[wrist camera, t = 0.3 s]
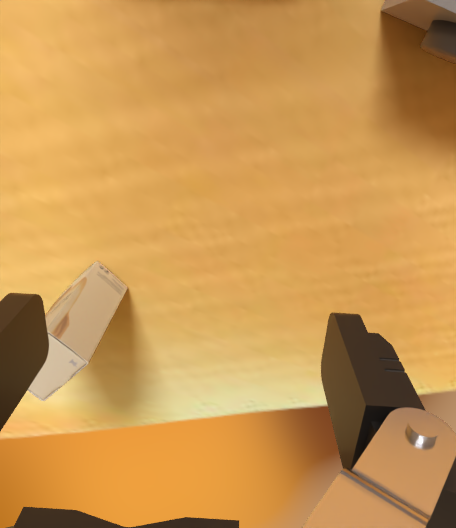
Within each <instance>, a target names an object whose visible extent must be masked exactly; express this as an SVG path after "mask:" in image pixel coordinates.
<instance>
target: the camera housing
mask: <svg viewBox="0 0 456 528" xmlns="http://www.w3.org/2000/svg"><path fill="white" fill-rule="evenodd" d="M381 11H383V12H385V13H387V14H390V15H392V16H394V17H396V18H399V19H401V20H403V21H406V22H408V23H410V24H412V25H415V26H417V27H419V28H422V29H424V30H426V31H427V33H426V35H425V37H424V39H423V41H422V43H421V45H420V47H421V48H422V49H423V50H425V51H426V52H428V53H430V54H432V55H434V56H437V57H439V58H441V59H444V60H447V61H449V62H452V63H455V64H456V0H385V2H384V4H383V7H382V9H381Z"/></svg>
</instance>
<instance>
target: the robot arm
mask: <svg viewBox="0 0 456 528" xmlns="http://www.w3.org/2000/svg"><path fill="white" fill-rule="evenodd" d="M48 351H49V338H48V332H47V325H46V319H45V312H44V306H43V301H42V298H41V297H40V295H37V294H21V293H9V294H8V295H6V296H5V297H4V298H3V299H2V300H1V301H0V431H1V429H2V428H3V426H4V425H5V423H6V422H7V420H8V419H9V417H10V416H11V414H12V413H13V411H14V410H15V408H16V406H17V405H18V403H19V402H20V400H21V399H22V397H23V396H24V394H25V393H26V391H27V390H28V388H29V387H30V385H31V384H32V382H33V380H34V379H35V377H36V376H37V374H38V373H39V371H40V370H41V368H42V367H43V365H44V364H45V362H46V359H47V356H48ZM404 371H405V370H404V368H403V366H402V364H401V362H400V361H399V358H398V356H397V354H396V352H395V350H394V348H393V346H392V345H391V344H390V343H389V342H388V341H386V340H385V339H384V338H383V337H382V336H381V335H380V334H378V333H368V332H367V330H366V327H365V325H364V323H363V321H362V318H361V316H360V315H359V314H346V313H331V314H330V316H329V320H328V326H327V332H326V337H325V343H324V349H323V354H322V361H321V377H322V383H323V387H324V391H325V395H326V400H327V404H328V408H329V412H330V416H331V420H332V424H333V428H334V432H335V437H336V441H337V445H338V449H339V454H340V458H341V462H342V466H343V470H342V471H341V472H340V473H339V474H338V476H337V477H336V479H335V480H334V482H333V483H332V484H331V486H330V487H329V489H328V490H327V492H326V493H325V494H324V496H323V497H322V499H321V500H320V502H319V503H318V505H317V506H316V507H315V509H314V510H313V512H312V513H311V515H310V516H309V518H308V519H307V520H306V522H305V523H304V525H303V526H302V528H456V434H455V432H454V431H453V430H452V428H451V427H450V426H449V425H448V424H447V423H446V422H444V421H443V420H442V419H440V418H439V417H437V416H435V415H433V414H432V413H429V412H427V411H425V409H424V407H423V405H422V403H421V401H420V399H419V397H418V395H417V393H416V391H415V389H414V387H413V385H412V383H411V381H410V379H409V377H408V376H407V374H406V373H405V372H404ZM7 528H239V521H236V520H219V519H204V518H188V517H185V518H180V519H175V520H169V521H164V522H158V523H153V524H147V525H142V526H136V527H123V526H120V525H117V524H114V523H111V522H108V521H105V520H103V519H100V518H97V517H94V516H91V515H88V514H86V513H83V512H80V511H77V510H65V509H49V508H33V507H23V509H22V511H21V513H20V515H19V517H18V519H17V521H16V523H15V525H14V526H12V527H7Z"/></svg>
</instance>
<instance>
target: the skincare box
mask: <svg viewBox="0 0 456 528" xmlns="http://www.w3.org/2000/svg"><path fill="white" fill-rule="evenodd" d="M127 289H128V287H127V286H126V285H125V284H124V283H122V282H121V281H120V280H119V279H118V278H117V277H116V276H115V275H114V274H113V273H111V272H110V271H109V270H108V269H107V268H106V267H104V266H103V265H102V264H101V263H99V262H98V261H96V262H95V263H94V264H92V265H91V266H90V267H89V268H88V269H87V270H86V271H85V272H83V273H82V274H81V275H80V276H79V277H78V278H77V279H76V280H75V281H74V282H73V283H72V284H71V285H70V286H69V287H68V288H67V289H66V290H65V291H64V292H63V293H62V294H61V296H60V297H59V298H58V300H57V301H56V302H55V303H54V305H53V306H52V307H51V308H50V310H49V311H48V313H47V314H46V315H45V319H46V325H47V332H48V338H49V351H48V356H47V359H46V362H45V364H44V365H43V367H42V368H41V370H40V371H39V373H38V374H37V376H36V377H35V379H34V380H33V382H32V384H31V385H30V387H29V388H28V391H29V392H30V393H32V394H33V395H35V396H36V397H37V398H39V399H40V400H41V401H45V400H46V399H47V398H48V397H50V396H51V395H52V394H53V393H55V392H56V391H57V390H58V389H59V388H61V387H62V386H63V385H64V384H65V383H67V382H68V381H69V380H70V379H71V378H72V377H73V376H75V375H76V374H77V373H78V372H79V371H80V370H82V369H83V368H84V367H85V366H86V365H88V363H89V361H90V360H91V358H92V356H93V354H94V352H95V350H96V348H97V346H98V344H99V342H100V340H101V339H102V337H103V335H104V333H105V331H106V329H107V327H108V325H109V323H110V321H111V319H112V317H113V316H114V314H115V312H116V310H117V308H118V306H119V304H120V302H121V300H122V298H123V296H124V295H125V293H126V291H127Z"/></svg>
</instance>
